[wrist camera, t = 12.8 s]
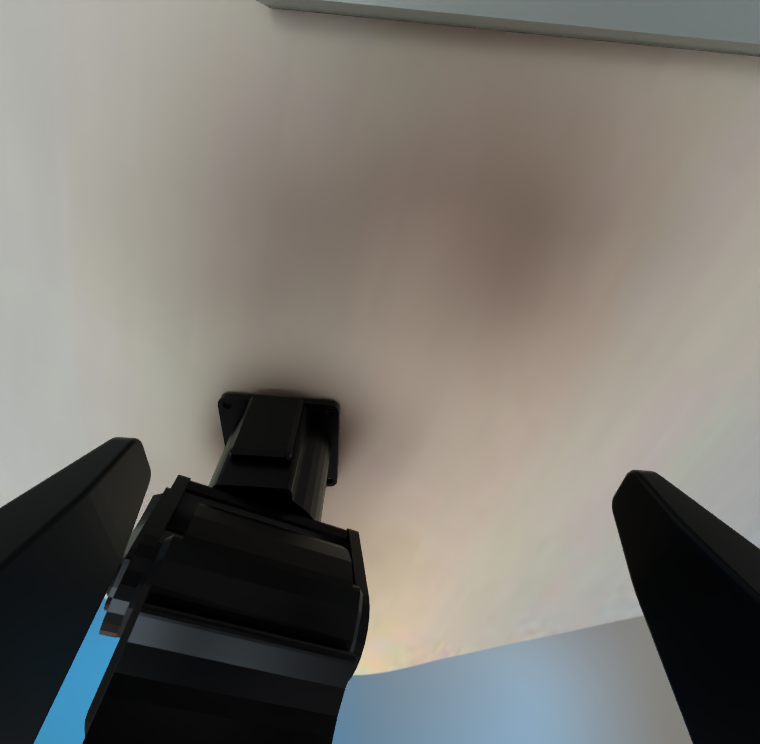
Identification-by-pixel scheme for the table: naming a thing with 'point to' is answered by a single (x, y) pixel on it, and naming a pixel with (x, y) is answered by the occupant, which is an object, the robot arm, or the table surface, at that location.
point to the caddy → (575, 19)
